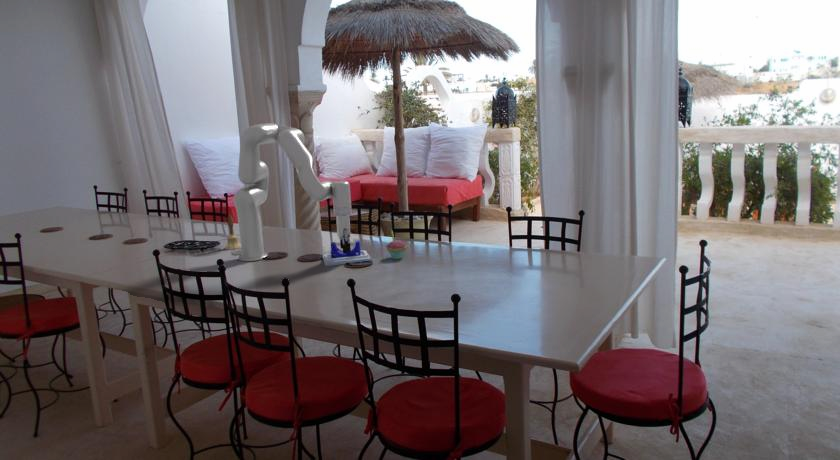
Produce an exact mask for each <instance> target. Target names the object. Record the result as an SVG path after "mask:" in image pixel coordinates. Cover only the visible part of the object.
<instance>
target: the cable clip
mask: <svg viewBox="0 0 840 460" xmlns="http://www.w3.org/2000/svg"><path fill="white" fill-rule="evenodd" d="M336 243H337V242H336V241H331V242H330V248H331V249H330V254H331V258H342V257H352V256H360V255H361V241H360V240H356V241H355V246H354V247H353V248H352V249H351V253H345V254H344V253H343V250H341V249H339V248H338V246H337V244H336ZM356 252H358V253H359V254H356Z"/></svg>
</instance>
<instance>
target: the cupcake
mask: <svg viewBox="0 0 840 460" xmlns="http://www.w3.org/2000/svg"><path fill="white" fill-rule="evenodd" d="M391 237H392V241H391V242H389V243H388V244H386V250H387V251H388V253H389V255H390V257H391V259H394V260H397V259H398V260H399V259H403V257H404V252H405V251H406V250H407V244H406V243H405V242H404V241H401V240H395V236H394V231H393V230H391Z"/></svg>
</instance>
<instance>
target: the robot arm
mask: <svg viewBox="0 0 840 460" xmlns="http://www.w3.org/2000/svg"><path fill="white" fill-rule="evenodd" d="M305 137H306V136H305V135H304V133H303V131H302V130H300V129H298V128H296V127H291V126H287V125H283V124H278V123H273V122H270V123H269V122H267V123H258V124H254V125H251V126H248V127H246V128H245V129H244V130H243V132H241V135H240V138H239V139H240V140H239V155H238V171H237V176H238V180H239V182H241V184H244V185H245V186H243V187H241V188H239V189H238V190H237V191H235V193H234V196H233V204H234V207H235V210H236V216H237V223H238V231H239V240H240V244H241V248H239V249H237V250H230V255H231V256H234V257H235V256H236V257H237V256H238V260H239V261H241V262H255V261H256V262H257V261H261V260H264V259H263V258H265V257H267V256H268V257H269V254H268V253H267V252H265V250H264V249H265V248H264V247H265V246H264V240H263V239H264V238H263V230H262V229H263V228H262V221H261V214H260V211H259V208H258V206H260V205H263V204H264V203H265V202H266V200H267V198H268V193H269V183H270V182H269V181H270V179H269V178H270V171H269V168H268V165H267V164H266V163H265V162H264V161H262V160H261V151H260V146H261V145H266V144H268V145H269V144H277V145H279V147H280V149H281V150H282V151H283V153H284V154H285V155H286V157H287V158H288V159H289V161H290V162H291V163H292V165H293V166H294V168H295V169H296V175H297V177H298V181H299V182H300V185H301V187H302V188H303V190H304V191H305V192H306V194H307V195H308V197H310V199H311V200H313V201H315V202H323V201H325V200H328V199H330V198H332V205H333V216H336V218H335V219H336V235H337V237H338V239H339V242H340V243H339V245H340V249H342V251H343V253H344V254H345V253H351V250H352V249H351V242H350V238H351V222H350V221H351V220H350V215H352V214H353V212H352V199H351V198H352V197H351V196H352V195H351V185H350V182H349V181H346V180H341V181H340V180H337V181H333V180H322V181H319V178H317V176H316V174H315V171H314V170H313V160H314V159H313V156H312V154H311V153H310V152H309V150H308V148H307V147H306V145H305V144H304V143H305V141H306V138H305ZM246 185H247V186H246ZM268 257H267V258H268ZM265 259H266V258H265Z"/></svg>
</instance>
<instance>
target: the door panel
mask: <svg viewBox="0 0 840 460" xmlns="http://www.w3.org/2000/svg"><path fill="white" fill-rule="evenodd" d="M360 250H361V249H360ZM356 254H359V253H358V252H356ZM321 255H322V256H321V257H322V260H323V262H324V263H323V264H324V266H325V267H330V266H339V265H347V264H346V263H349V262H357V261H370V262H372V259H371V258H372V257H371V256H370V255H369V252H367V250H366V249H364V250H363V249H362V250H361V255H360V256H352V257H342V258H331V253H323V254H321Z"/></svg>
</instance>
